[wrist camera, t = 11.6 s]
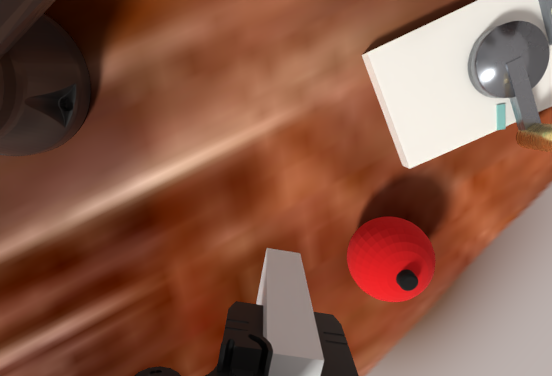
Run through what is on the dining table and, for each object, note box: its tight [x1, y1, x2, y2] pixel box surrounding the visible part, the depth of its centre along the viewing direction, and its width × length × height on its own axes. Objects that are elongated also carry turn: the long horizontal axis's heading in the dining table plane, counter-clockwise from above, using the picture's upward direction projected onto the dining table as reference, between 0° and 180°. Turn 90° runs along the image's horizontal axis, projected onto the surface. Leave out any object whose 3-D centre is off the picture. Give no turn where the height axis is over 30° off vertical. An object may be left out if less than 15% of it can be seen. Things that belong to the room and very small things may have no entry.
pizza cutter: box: [468, 21, 552, 152], centre depth 30 cm, size 13×7×10 cm, turn 25°
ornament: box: [347, 217, 435, 302], centre depth 37 cm, size 9×9×10 cm
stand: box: [362, 0, 552, 169], centre depth 35 cm, size 13×20×4 cm, turn 115°
